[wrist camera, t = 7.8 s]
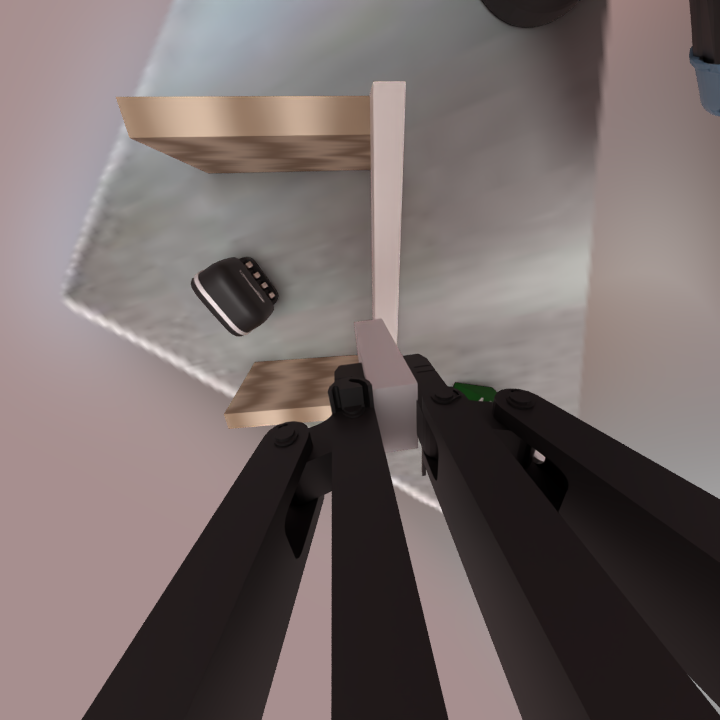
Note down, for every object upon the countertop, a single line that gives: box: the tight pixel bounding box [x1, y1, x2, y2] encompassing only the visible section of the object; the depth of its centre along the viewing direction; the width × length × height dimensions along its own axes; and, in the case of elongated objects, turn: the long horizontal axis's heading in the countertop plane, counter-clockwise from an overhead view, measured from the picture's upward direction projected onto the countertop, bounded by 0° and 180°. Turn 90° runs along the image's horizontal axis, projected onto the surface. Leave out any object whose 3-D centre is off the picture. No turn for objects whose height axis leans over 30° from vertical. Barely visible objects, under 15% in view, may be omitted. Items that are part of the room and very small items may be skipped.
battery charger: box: [191, 257, 278, 336], centre depth 28 cm, size 7×4×11 cm, turn 30°
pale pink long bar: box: [370, 81, 406, 345], centre depth 22 cm, size 3×27×2 cm, turn 2°
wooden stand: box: [116, 96, 371, 429], centre depth 28 cm, size 18×27×12 cm, turn 2°
